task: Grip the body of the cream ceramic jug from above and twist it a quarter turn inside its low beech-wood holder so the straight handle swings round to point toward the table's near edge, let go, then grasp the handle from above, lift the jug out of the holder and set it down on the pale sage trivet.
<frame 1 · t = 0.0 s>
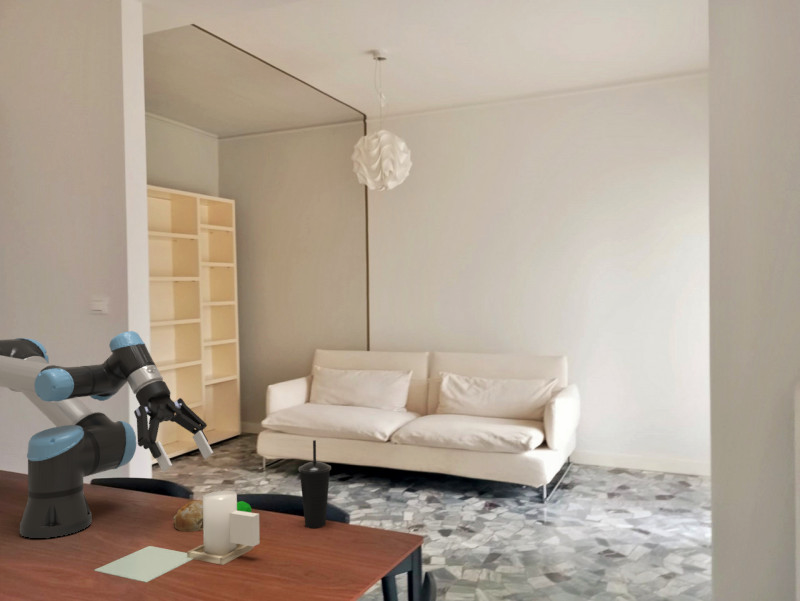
hand: (189, 462, 153), 15 cm above the table, tool tilted 35°, fingers open, 13 cm apart
bread roll: (195, 528, 153), on the table
trivet: (148, 565, 130), on the table
polyhedron: (241, 522, 156), on the table
drinking cup: (315, 525, 153), on the table
jug: (220, 553, 135), resting in holder
holder: (220, 555, 135), on the table
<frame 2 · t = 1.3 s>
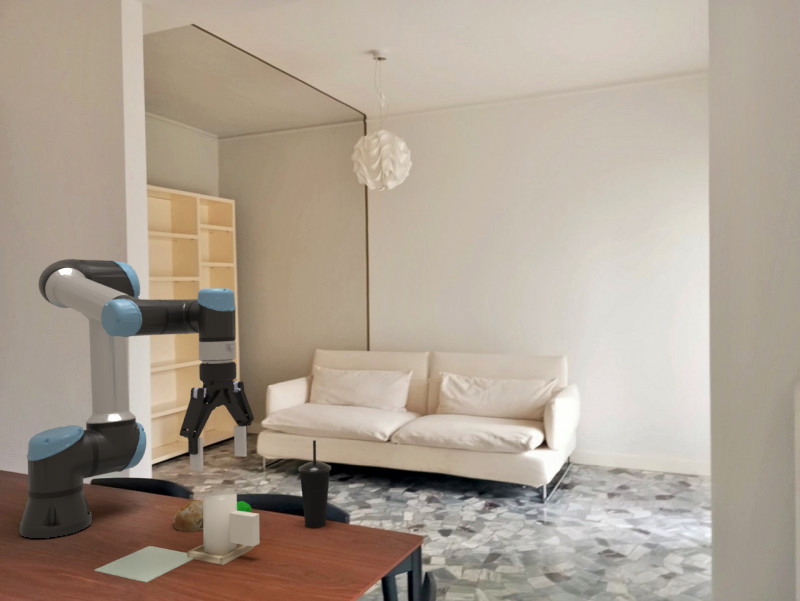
hand: (219, 462, 135), 19 cm above the table, tool pointing down, fingers open, 13 cm apart
nothing on the table moved.
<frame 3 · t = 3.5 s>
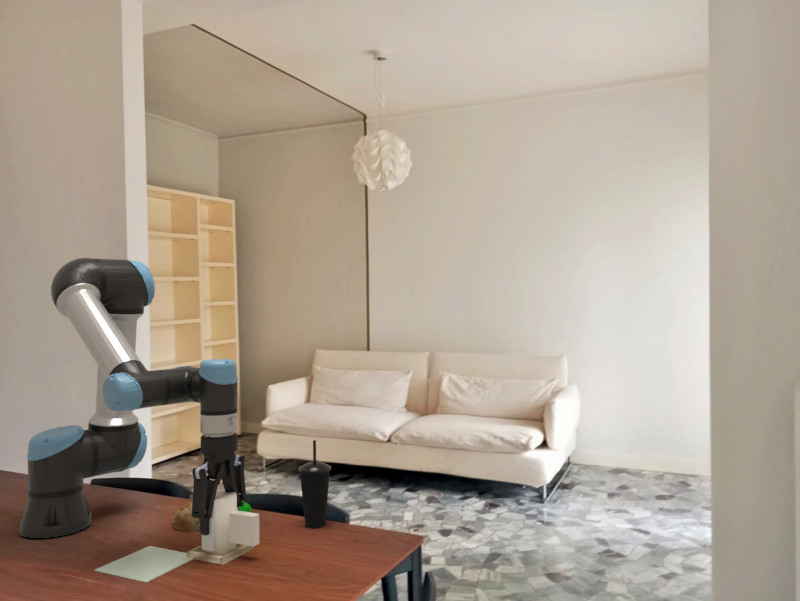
hand: (220, 543, 135), 3 cm above the table, tool pointing down, fingers closed on jug, 7 cm apart
jug: (220, 553, 135), resting in holder, touching gripper
everything else where it was.
when the fingers open (3 cm above the table, at t = 5.3 s): jug stays where it is, resting on holder.
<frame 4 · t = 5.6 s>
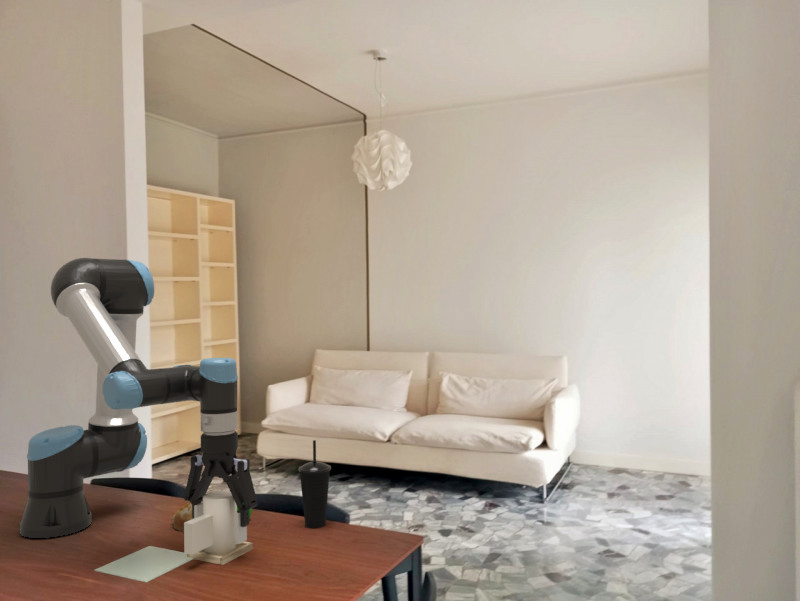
hand: (220, 538, 135), 4 cm above the table, tool pointing down, fingers open, 10 cm apart
jug: (220, 552, 135), point 1 cm above the table, touching holder
everything else where it was.
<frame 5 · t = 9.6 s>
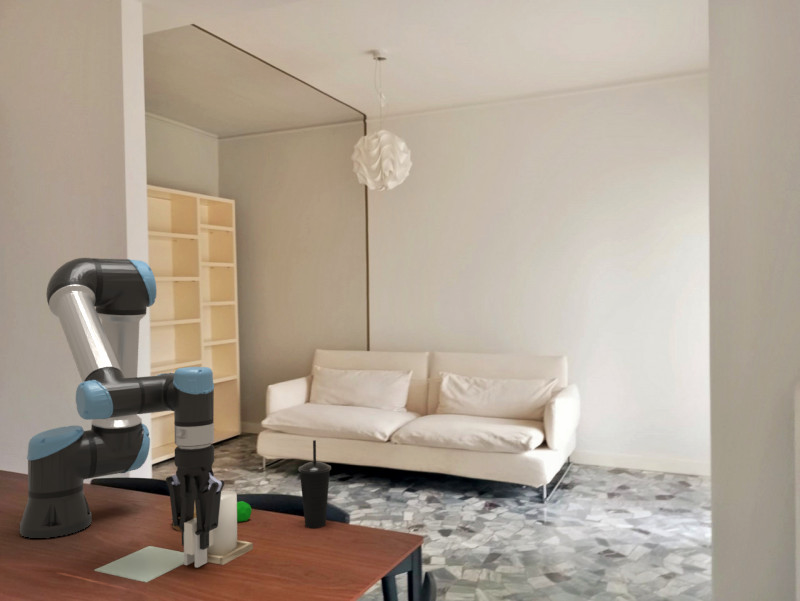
hand: (195, 563, 128), 1 cm above the table, tool pointing down, fingers closed on jug, 2 cm apart
jug: (220, 552, 135), point 1 cm above the table, touching gripper, holder
everything else where it was.
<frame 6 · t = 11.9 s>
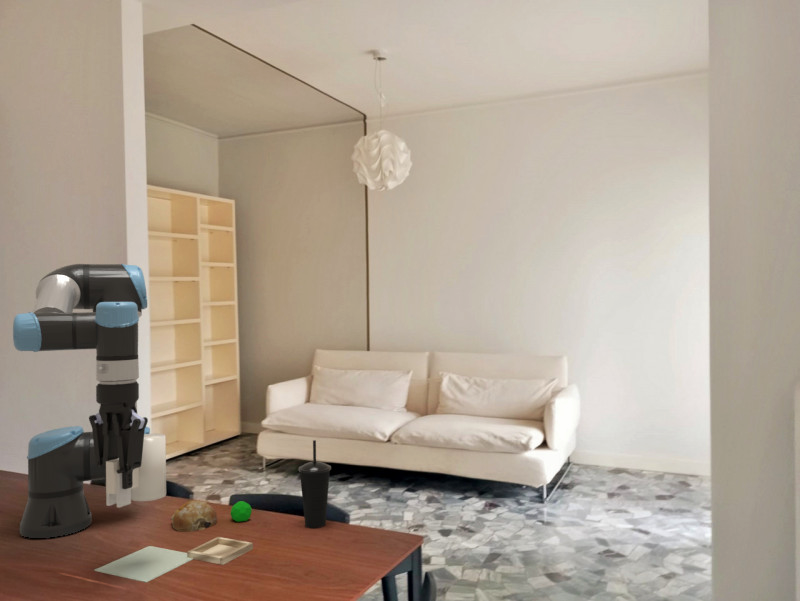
hand: (118, 504, 123), 14 cm above the table, tool pointing down, fingers closed on jug, 2 cm apart
jug: (148, 496, 130), point 14 cm above the table, touching gripper
everything else where it was.
when the fingers open (2 cm above the table, at t = 14.3 s): jug stays where it is, resting on trivet.
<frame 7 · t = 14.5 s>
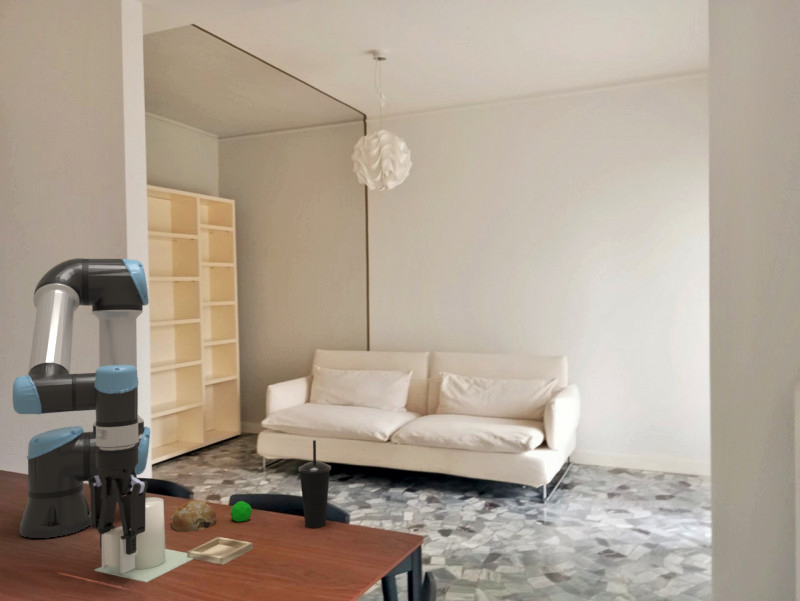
hand: (118, 568, 123), 2 cm above the table, tool pointing down, fingers open, 4 cm apart
jug: (147, 561, 130), point 1 cm above the table, touching trivet
everything else where it was.
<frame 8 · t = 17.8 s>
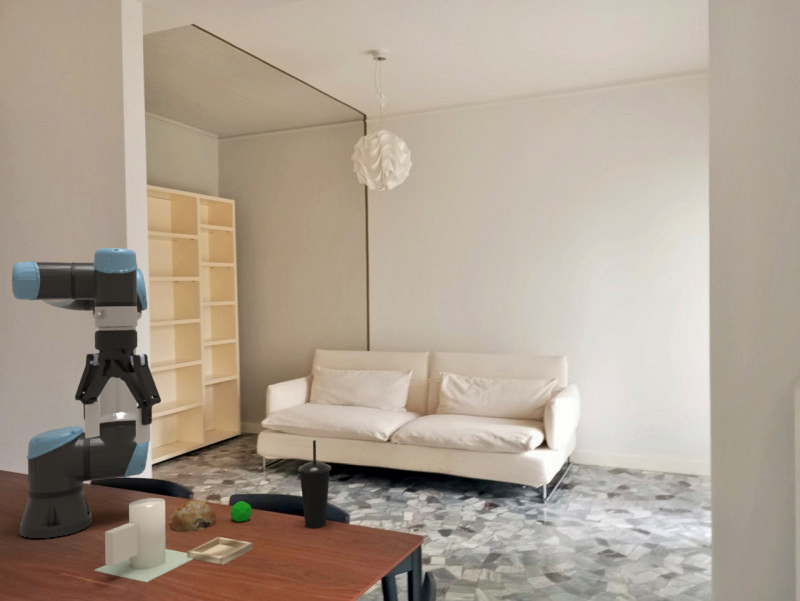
hand: (117, 439, 124), 27 cm above the table, tool pointing down, fingers open, 13 cm apart
nothing on the table moved.
at the end: jug inside the target area on the trivet (0.1 cm from its centre), point 0.6 cm above the trivet's base; jug tilted 0°; the gripper is holding nothing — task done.
